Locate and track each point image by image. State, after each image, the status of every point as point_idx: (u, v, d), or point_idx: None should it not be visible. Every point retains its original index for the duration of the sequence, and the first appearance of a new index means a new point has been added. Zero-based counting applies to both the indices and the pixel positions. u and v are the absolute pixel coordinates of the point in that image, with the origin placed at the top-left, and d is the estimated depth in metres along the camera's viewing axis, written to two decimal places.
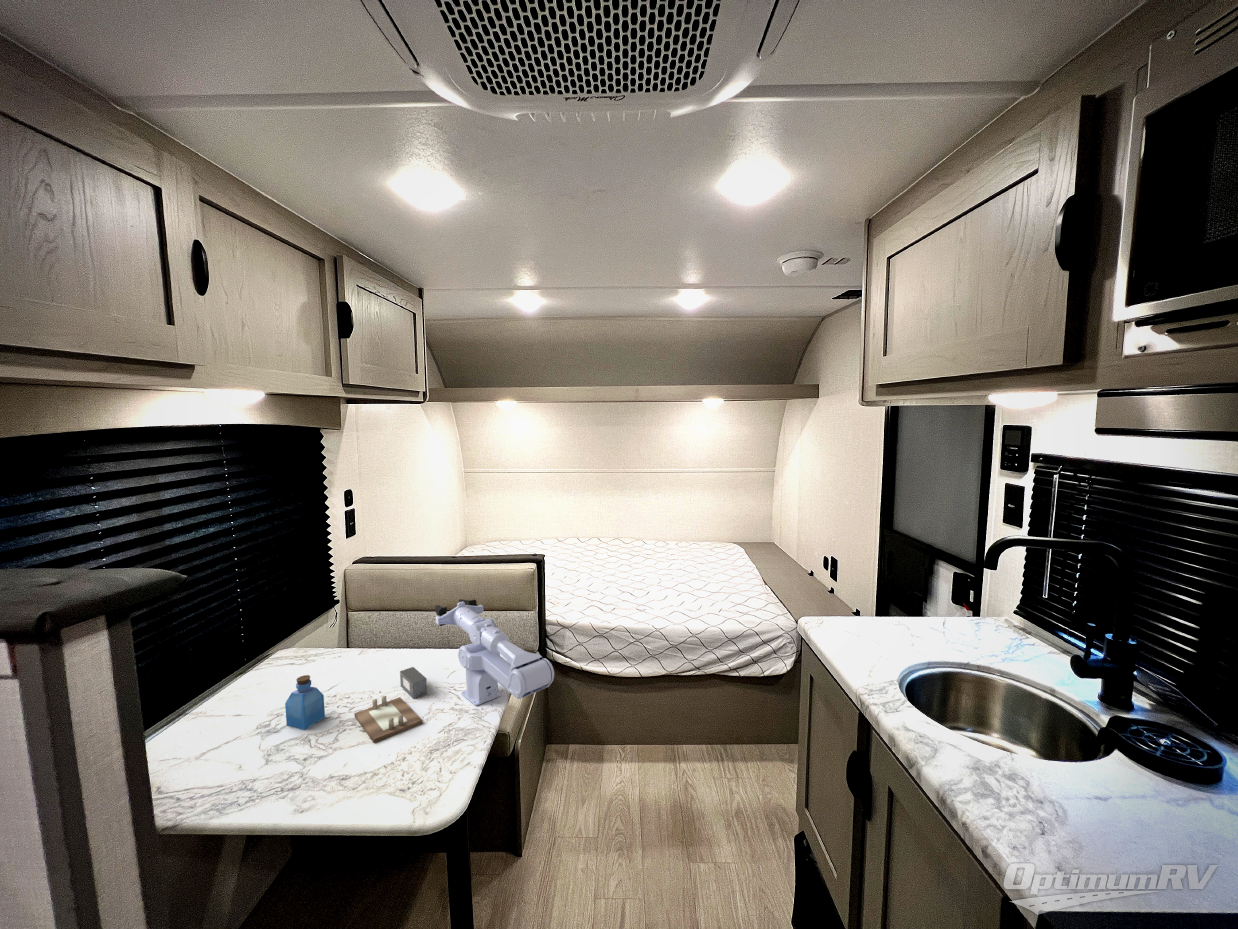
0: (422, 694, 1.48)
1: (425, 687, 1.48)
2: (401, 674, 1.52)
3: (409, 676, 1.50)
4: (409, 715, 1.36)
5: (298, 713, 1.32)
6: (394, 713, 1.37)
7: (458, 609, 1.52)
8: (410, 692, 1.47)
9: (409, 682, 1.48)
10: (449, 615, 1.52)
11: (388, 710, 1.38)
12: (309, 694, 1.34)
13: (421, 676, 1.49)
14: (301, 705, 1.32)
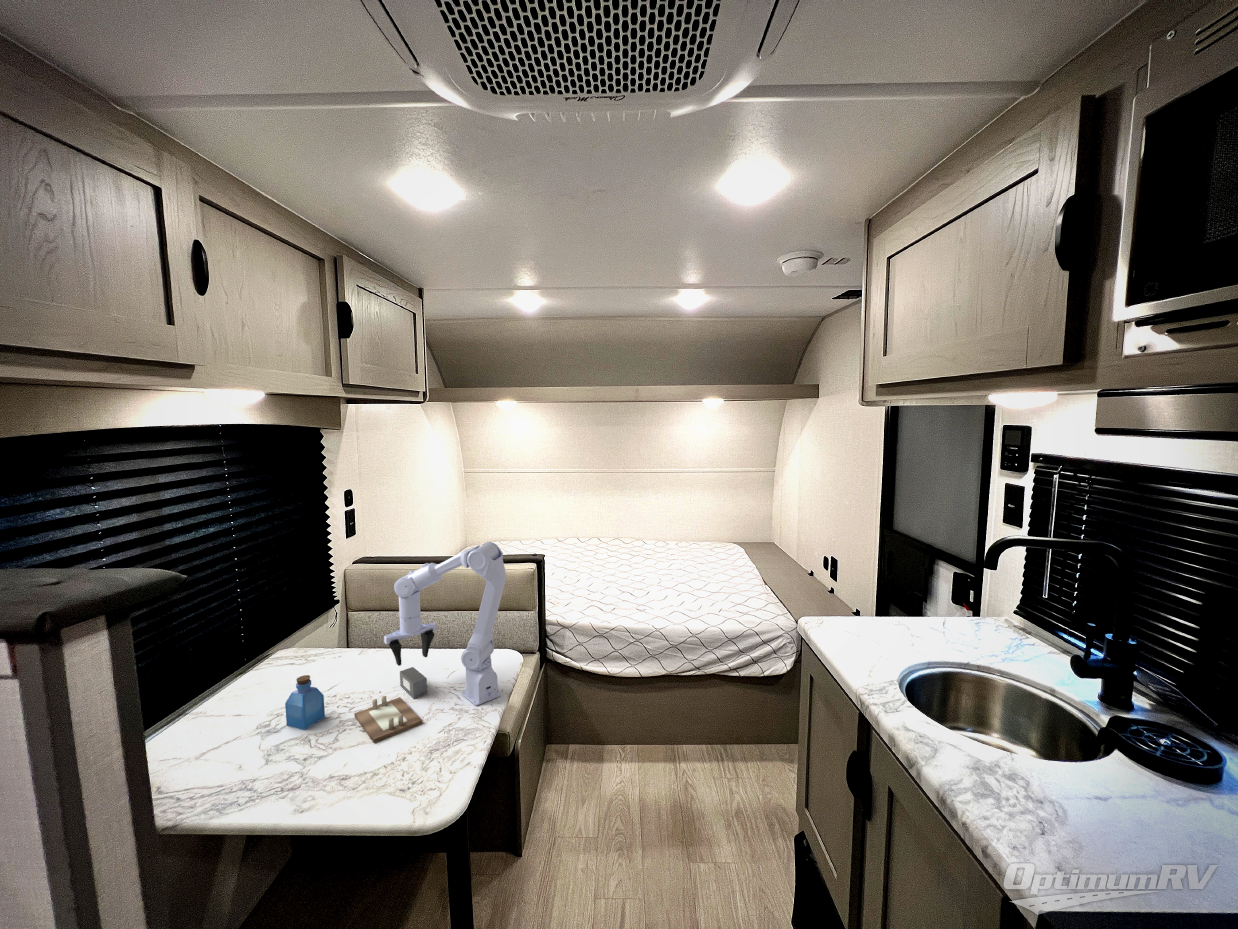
0: (422, 694, 1.48)
1: (425, 686, 1.48)
2: (401, 674, 1.52)
3: (409, 676, 1.50)
4: (409, 715, 1.36)
5: (298, 713, 1.32)
6: (394, 713, 1.37)
7: None
8: (411, 692, 1.47)
9: (409, 682, 1.48)
10: (397, 634, 1.48)
11: (388, 710, 1.38)
12: (309, 694, 1.34)
13: (421, 676, 1.49)
14: (301, 705, 1.32)
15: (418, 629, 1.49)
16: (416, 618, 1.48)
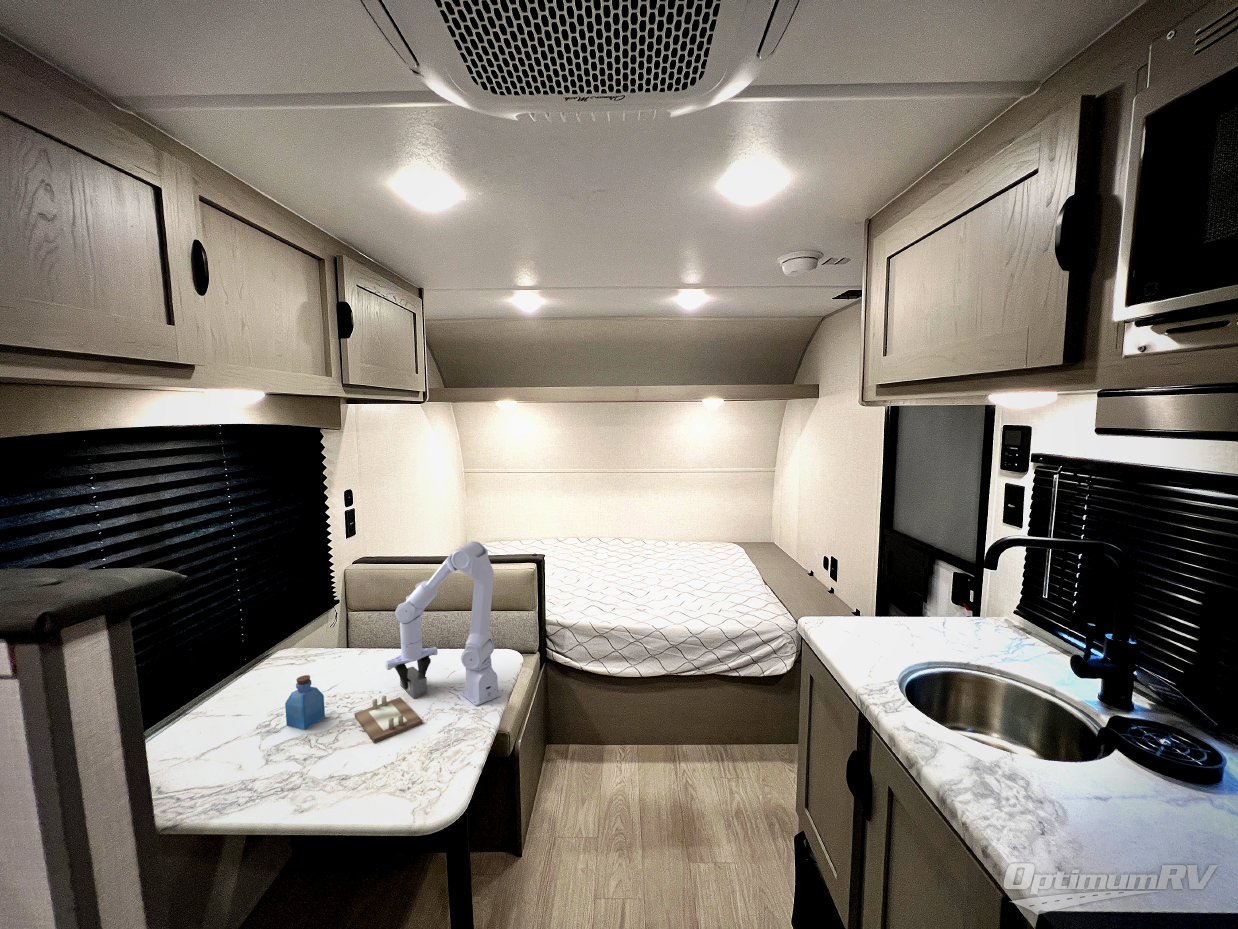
0: (422, 693, 1.48)
1: (425, 686, 1.48)
2: None
3: (409, 675, 1.50)
4: (409, 715, 1.36)
5: (298, 713, 1.32)
6: (394, 713, 1.37)
7: None
8: (411, 692, 1.47)
9: (409, 681, 1.48)
10: None
11: (388, 710, 1.38)
12: (309, 694, 1.34)
13: (421, 675, 1.49)
14: (301, 705, 1.32)
15: (419, 654, 1.49)
16: (417, 643, 1.49)
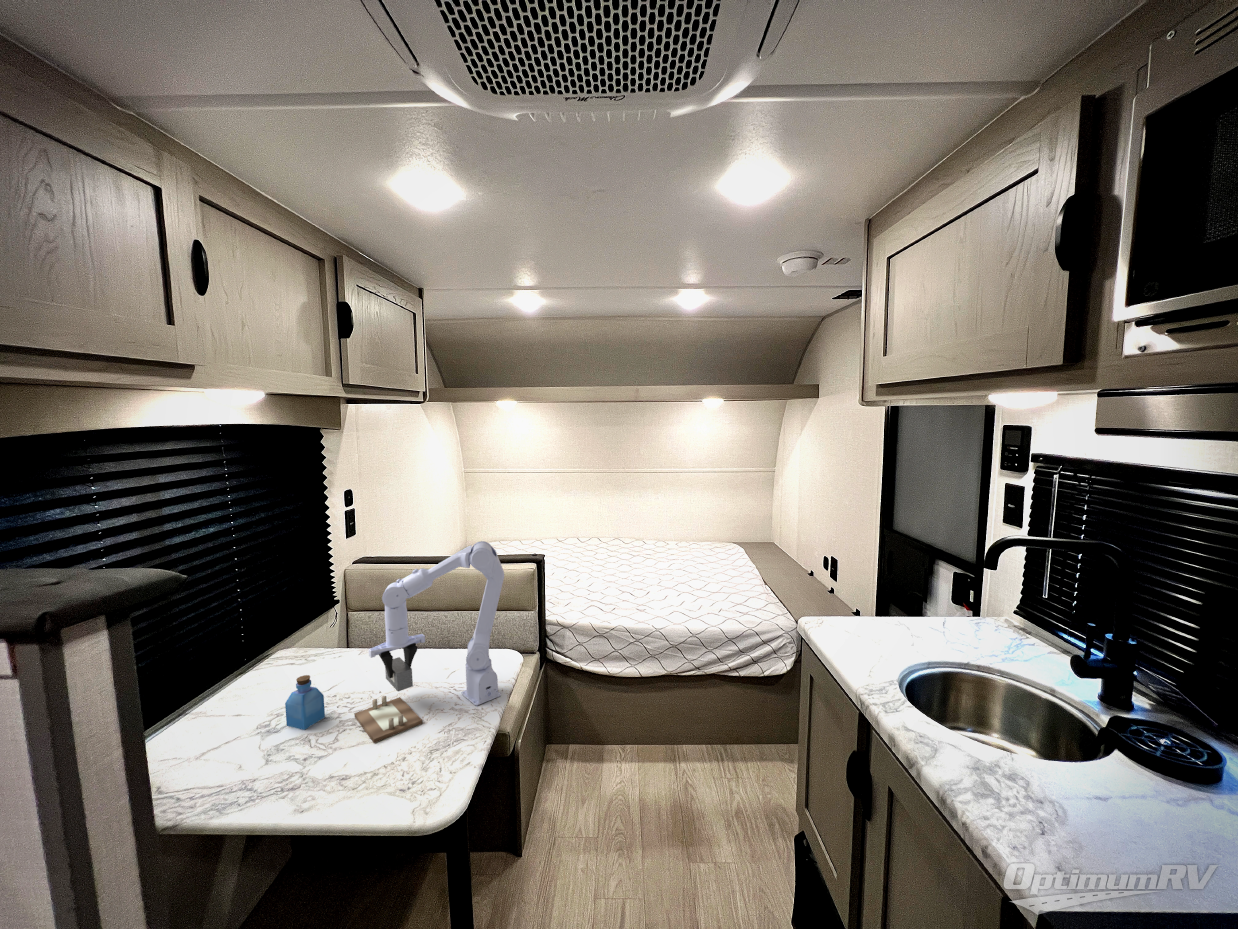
0: (407, 686, 1.39)
1: (410, 678, 1.40)
2: None
3: (394, 667, 1.41)
4: (409, 715, 1.36)
5: (298, 713, 1.32)
6: (394, 713, 1.37)
7: None
8: (395, 684, 1.39)
9: (393, 673, 1.39)
10: None
11: (388, 710, 1.38)
12: (309, 694, 1.34)
13: (406, 667, 1.41)
14: (301, 705, 1.32)
15: (405, 641, 1.40)
16: (403, 630, 1.40)
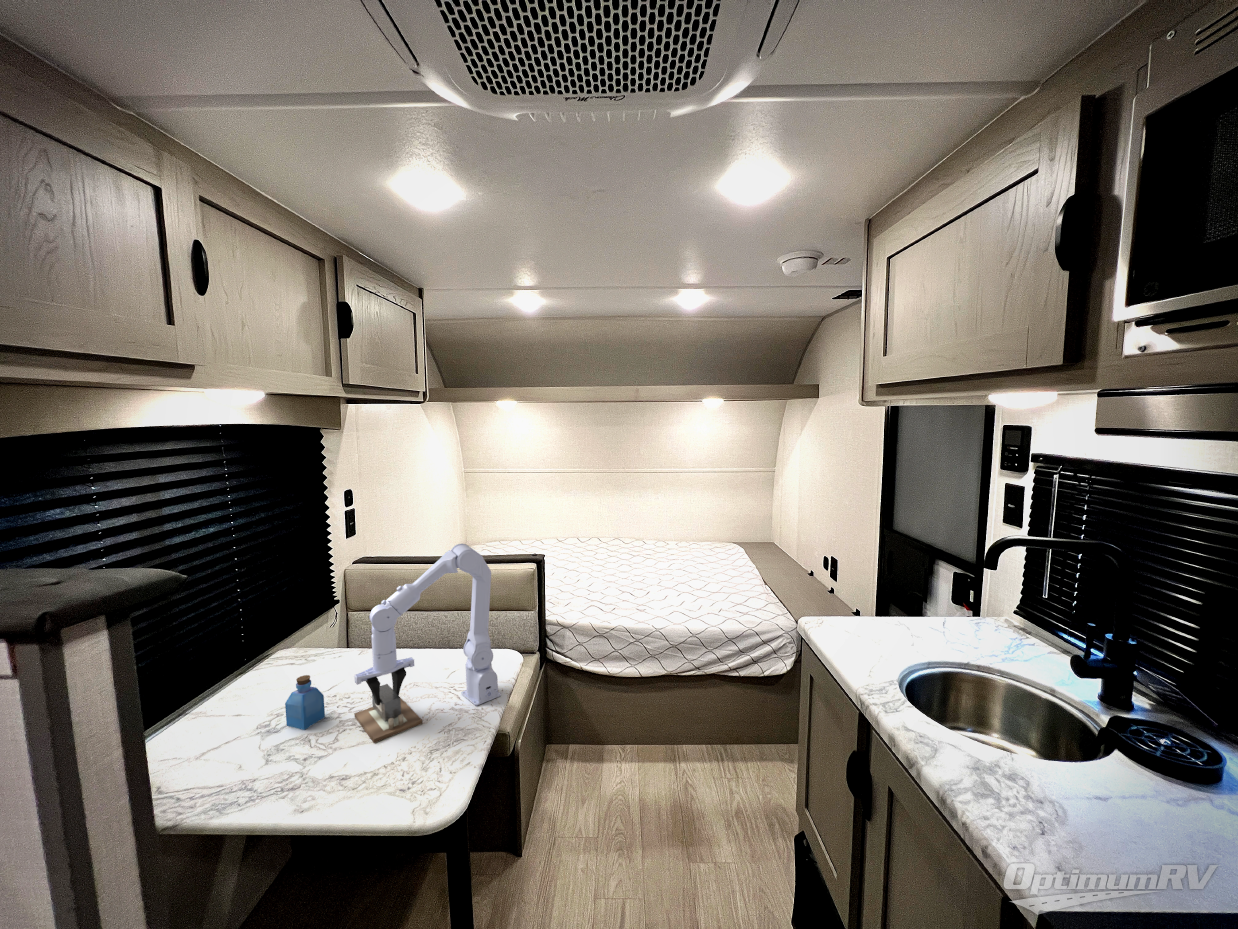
0: (395, 715, 1.32)
1: (399, 707, 1.33)
2: None
3: (381, 695, 1.34)
4: (409, 715, 1.36)
5: (298, 713, 1.32)
6: None
7: None
8: (382, 713, 1.32)
9: (381, 702, 1.32)
10: (369, 672, 1.33)
11: None
12: (309, 694, 1.34)
13: (395, 695, 1.34)
14: (301, 705, 1.32)
15: (393, 666, 1.33)
16: (391, 654, 1.33)
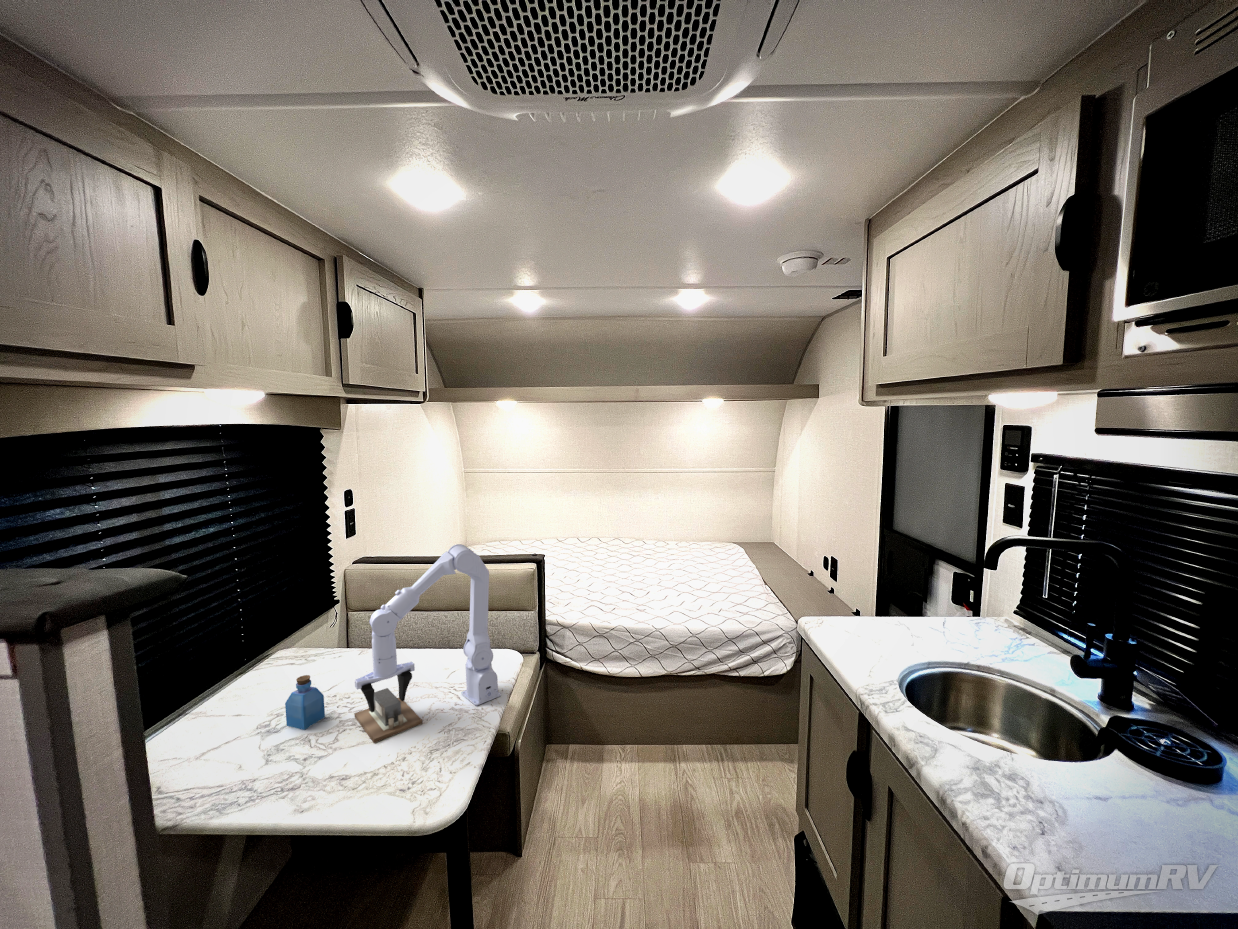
0: (396, 720, 1.33)
1: (399, 711, 1.33)
2: None
3: (381, 699, 1.34)
4: (409, 715, 1.36)
5: (298, 713, 1.32)
6: None
7: None
8: (383, 718, 1.32)
9: (381, 706, 1.32)
10: None
11: None
12: (309, 694, 1.34)
13: (395, 699, 1.34)
14: (301, 705, 1.32)
15: (393, 671, 1.34)
16: (391, 659, 1.33)
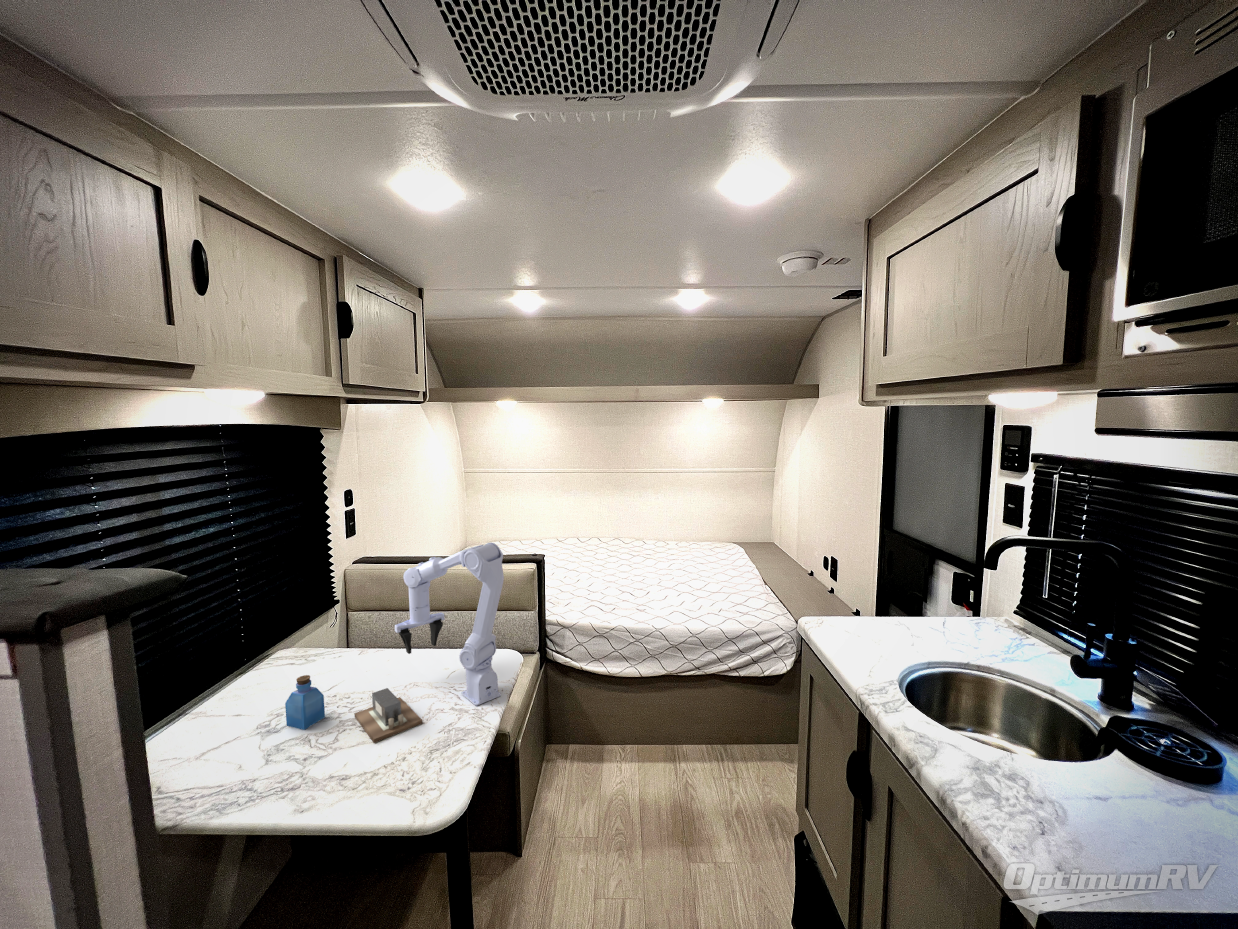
0: (396, 720, 1.33)
1: (399, 711, 1.33)
2: (373, 696, 1.37)
3: (381, 699, 1.34)
4: (409, 715, 1.36)
5: (298, 713, 1.32)
6: None
7: None
8: (383, 718, 1.32)
9: (381, 706, 1.32)
10: (407, 623, 1.53)
11: None
12: (309, 694, 1.34)
13: (395, 699, 1.34)
14: (301, 705, 1.32)
15: (427, 618, 1.54)
16: (425, 608, 1.53)
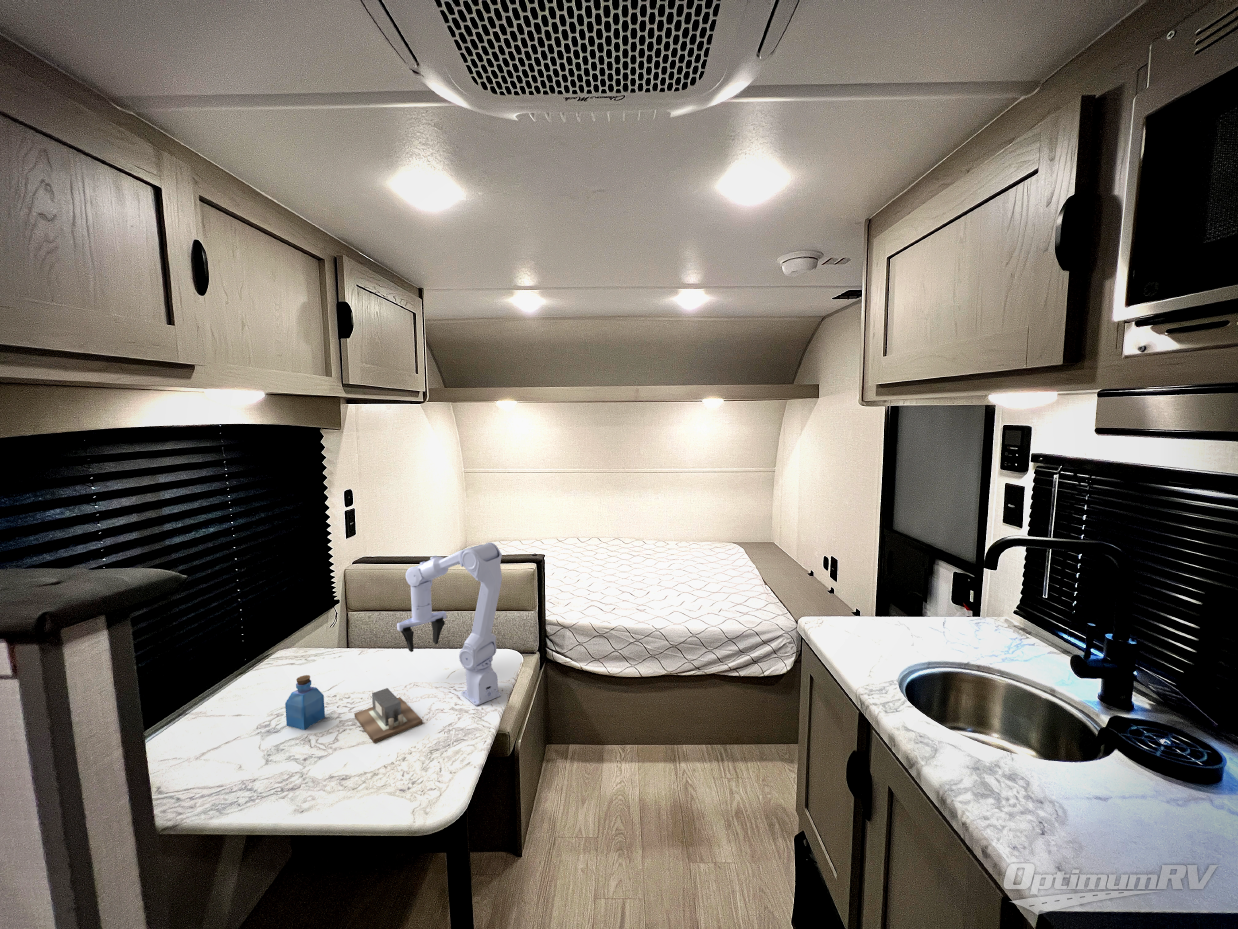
0: (396, 720, 1.33)
1: (399, 711, 1.33)
2: (373, 696, 1.37)
3: (381, 699, 1.34)
4: (409, 715, 1.36)
5: (298, 713, 1.32)
6: None
7: None
8: (383, 718, 1.32)
9: (381, 706, 1.32)
10: None
11: None
12: (309, 694, 1.34)
13: (395, 699, 1.34)
14: (301, 705, 1.32)
15: (429, 617, 1.55)
16: (427, 606, 1.54)
